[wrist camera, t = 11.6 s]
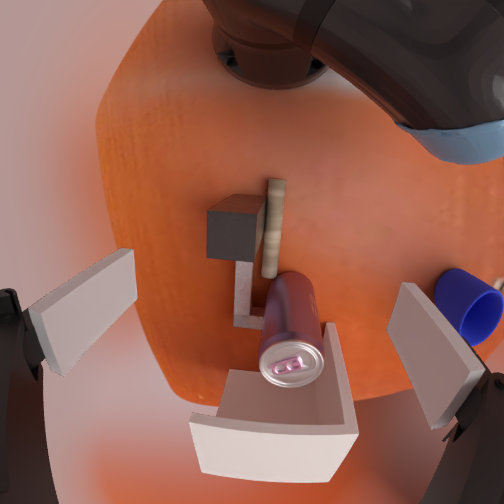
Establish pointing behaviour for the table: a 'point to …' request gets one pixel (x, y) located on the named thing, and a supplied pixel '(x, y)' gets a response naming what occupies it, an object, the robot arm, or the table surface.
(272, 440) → the corner shelf
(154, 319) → the table surface
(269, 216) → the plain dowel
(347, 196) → the table surface
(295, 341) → the beverage can
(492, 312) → the mug
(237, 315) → the grey angled piece
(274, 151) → the table surface
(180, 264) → the table surface
